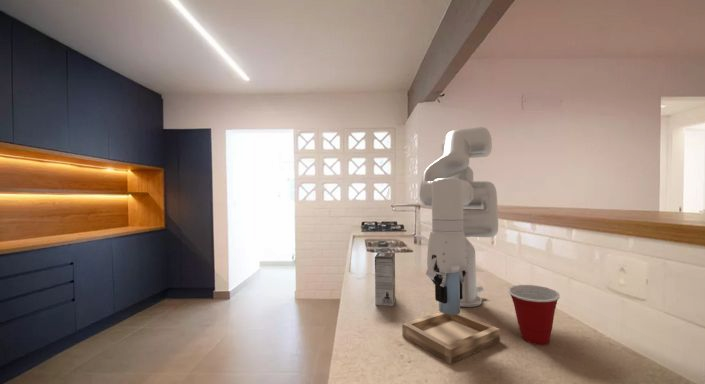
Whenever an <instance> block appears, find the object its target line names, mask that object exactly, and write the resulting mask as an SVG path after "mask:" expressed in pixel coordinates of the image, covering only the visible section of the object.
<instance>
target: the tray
mask: <svg viewBox="0 0 705 384" xmlns="http://www.w3.org/2000/svg"><path fill="white" fill-rule="evenodd" d="M401 324H402V325H401V326H402V327H401V329H402V330H401V332H402V336H403V337H404V338H406V339H407V340H409V341H411V342H412V343H414V344H415V345H418V346H419V347H421V348H422V349H425V350H426V351H427V352H430V353H431V354H433V355H434V356H436V357H438V358H439V359H441V360H443V361H444V362H446V363H447V364H449V365H452V364H454V363H457V362H459V361H461V360H463V359H465V358H468V357H470V356H471V355H474V354H476V353H478V352H481V351H482V350H485V349H487V348H489V347H491V346H493V345H495V344H498V343H500V341H501V337H500V336H501V333H500V328H498V327H496V326H494V325H491V324H488V323H486V322H483V321H481V320H478V319H476V318H473V317H471V316H467V315H465V314H463V313H461V312H460V314H457V315H449V314H444V313H442V312H440V311H439V312H436V313H432V314H429V315H426V316H423V317H419V318H416V319H413V320H410V321H406V322H403V323H401Z"/></svg>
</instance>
